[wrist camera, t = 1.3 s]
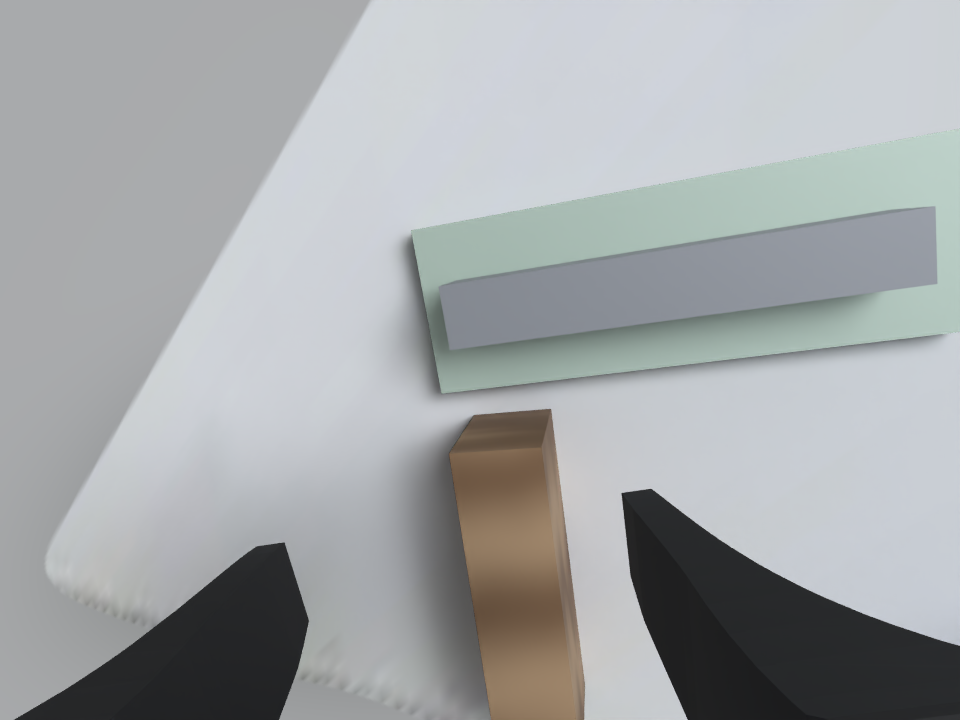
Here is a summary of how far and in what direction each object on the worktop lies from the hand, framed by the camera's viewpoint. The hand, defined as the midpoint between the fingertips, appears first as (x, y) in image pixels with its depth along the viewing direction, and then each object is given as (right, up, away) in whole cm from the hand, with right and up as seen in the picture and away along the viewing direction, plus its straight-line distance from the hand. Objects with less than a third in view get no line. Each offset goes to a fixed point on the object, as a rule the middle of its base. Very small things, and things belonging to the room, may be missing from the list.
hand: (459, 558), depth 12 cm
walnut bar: (+3, -5, +15) cm, 16 cm away
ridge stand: (+8, +8, +11) cm, 16 cm away
